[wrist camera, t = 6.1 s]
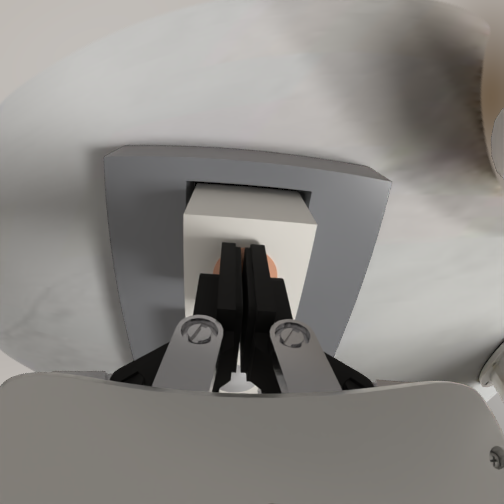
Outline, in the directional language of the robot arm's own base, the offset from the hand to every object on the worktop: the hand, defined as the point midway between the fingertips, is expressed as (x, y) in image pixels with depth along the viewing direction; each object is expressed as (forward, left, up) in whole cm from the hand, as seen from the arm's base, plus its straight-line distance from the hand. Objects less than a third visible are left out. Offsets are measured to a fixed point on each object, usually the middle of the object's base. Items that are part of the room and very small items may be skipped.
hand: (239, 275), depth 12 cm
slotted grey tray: (0, +7, -6) cm, 9 cm away
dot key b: (0, 0, -4) cm, 4 cm away
